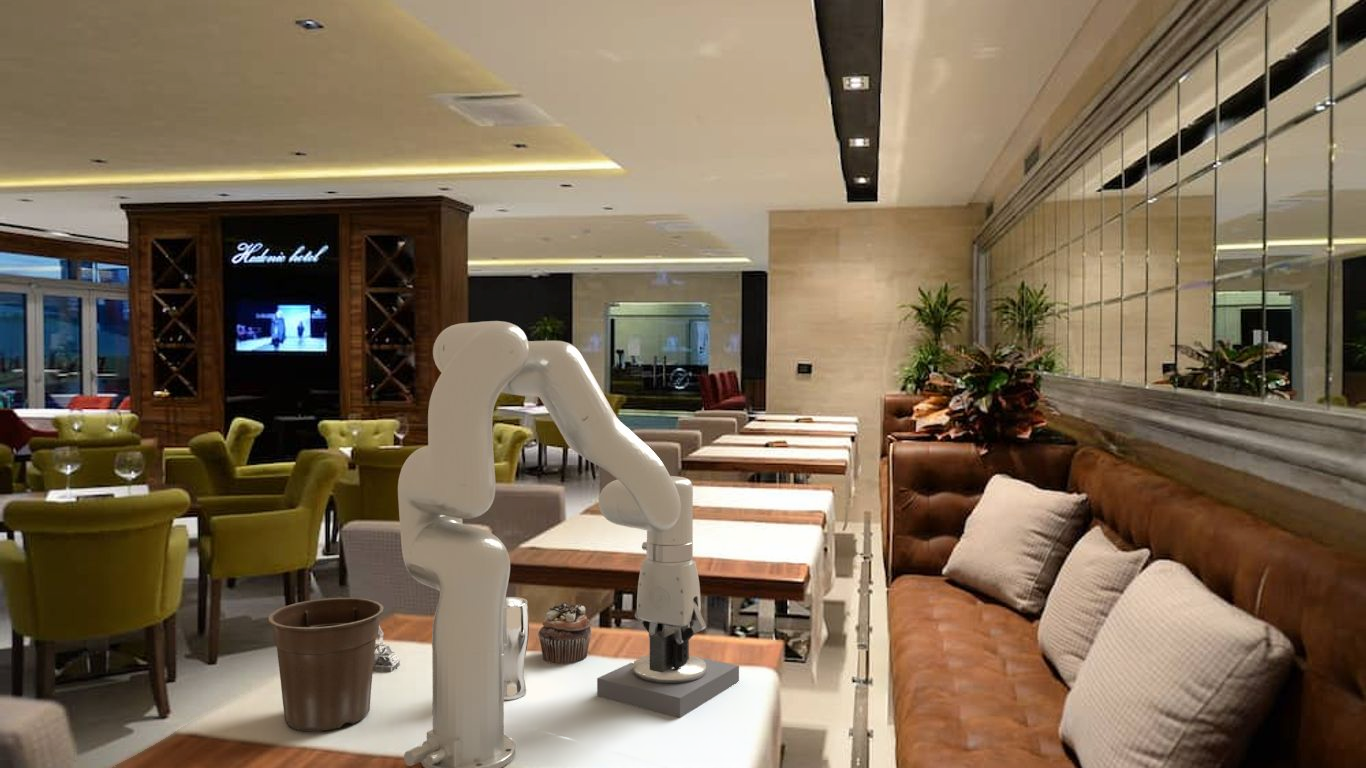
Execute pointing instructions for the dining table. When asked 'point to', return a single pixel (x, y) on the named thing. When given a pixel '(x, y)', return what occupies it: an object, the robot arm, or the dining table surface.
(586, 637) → the cupcake
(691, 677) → the dial
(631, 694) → the control panel
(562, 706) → the dining table surface
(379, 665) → the house of cards
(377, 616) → the plant pot
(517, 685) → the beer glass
